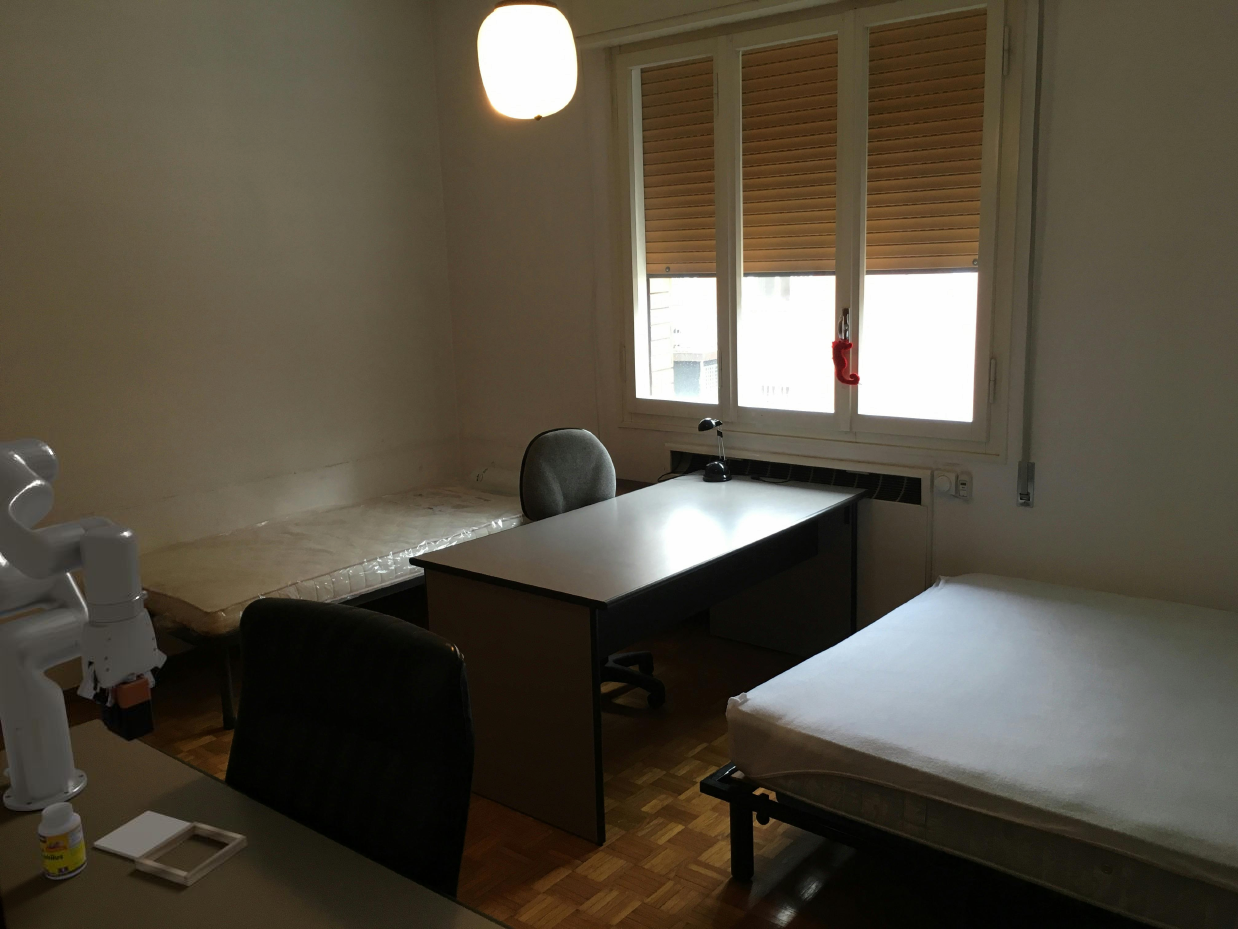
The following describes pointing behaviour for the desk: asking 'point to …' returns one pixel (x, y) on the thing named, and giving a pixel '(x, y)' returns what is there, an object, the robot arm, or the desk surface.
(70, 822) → the supplement bottle
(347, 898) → the desk surface
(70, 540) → the robot arm
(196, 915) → the desk surface
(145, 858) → the holder frame
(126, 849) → the ceramic pad
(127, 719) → the battery
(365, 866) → the desk surface
